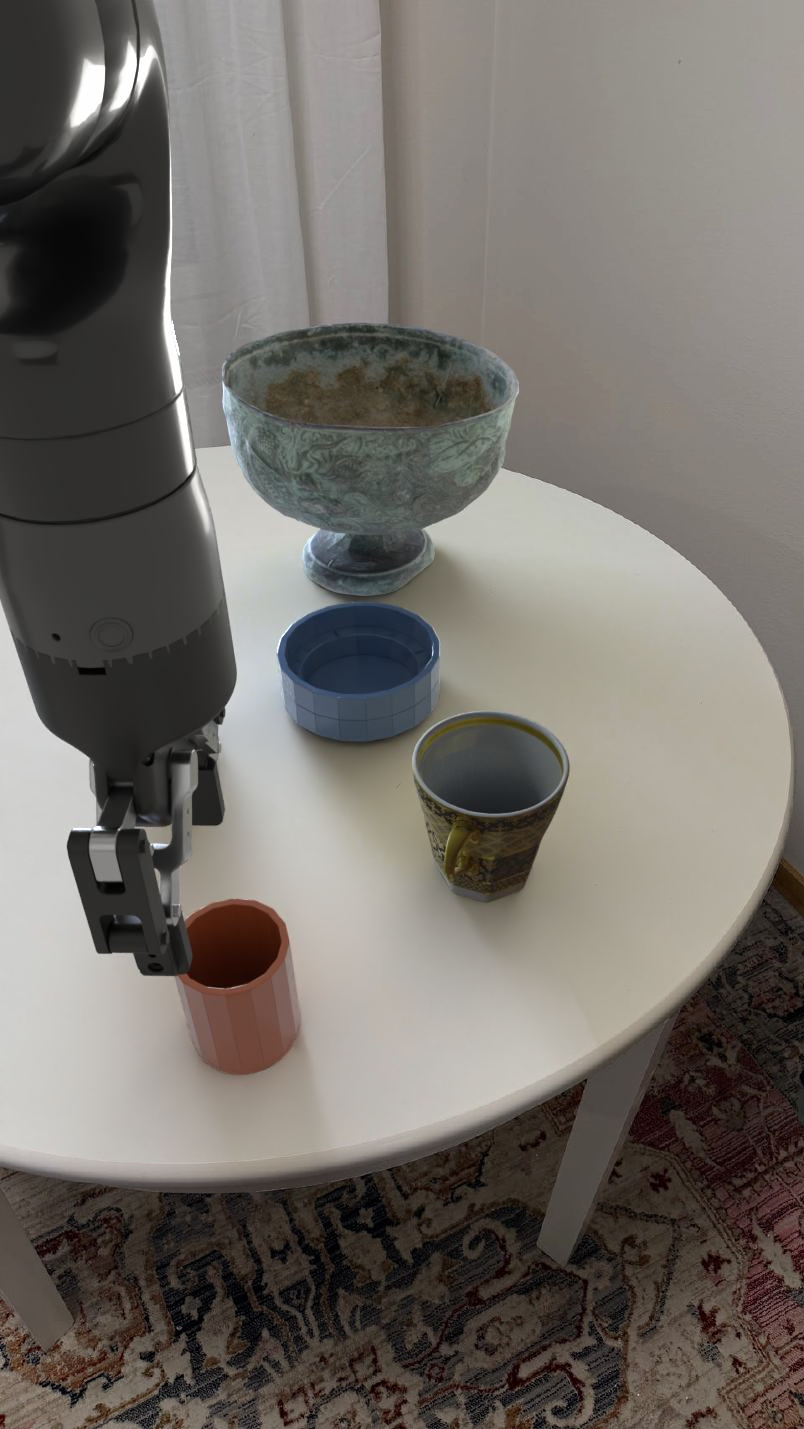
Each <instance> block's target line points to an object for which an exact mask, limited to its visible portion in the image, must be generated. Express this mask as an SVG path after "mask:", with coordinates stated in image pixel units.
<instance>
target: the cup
mask: <svg viewBox="0 0 804 1429" xmlns="http://www.w3.org/2000/svg"><path fill="white" fill-rule="evenodd" d="M184 922H185V926H186V930H187V934H188V938H189V942H190V946H191V950H192V954H193V956H192V961H191V965H190V970H189V972H188V973H186V974H182V975H177V976H173V977H174V981H175V984H176V987H177V992H178V996H179V998H180V1002H181V1006H182V1010H183V1013H184V1018H185V1021H186V1024H187V1028H188V1032H189V1035H190V1036H189V1037H190V1039H191V1042H192V1045H193V1047H194V1049H195V1051H196V1054H198V1056H199V1058H200V1059H201V1060H202V1061H203V1062H204V1063H205V1064H207V1065H208V1066H210V1067H211V1068H212V1069H214V1070H216V1071H219V1072H221V1073H225V1074H227V1075H249V1074H255V1073H258V1072H261V1071H264V1070H266V1069H268V1068H270V1067H272V1066H274V1065H276V1063H278V1062H279V1061H281V1060H282V1059H283V1058H284V1057H285V1056H286V1055H287V1054H288V1052H290V1050H291V1049H292V1047H293V1045H294V1044H295V1043H296V1040H297V1038H298V1035H299V1031H300V1026H301V1012H300V1005H299V998H298V991H297V982H296V976H295V969H294V962H293V954H292V946H291V941H290V940H291V939H290V937H289V931H288V927H287V924H286V921H285V920H284V919H283V918H282V917H281V916H280V915H279V914H278V913H277V910H275V909H274V908H273V907H270V906H268V905H266V904H264V903H262V902H260V901H258V900H255V899H246V898H237V897H236V898H235V897H234V898H233V897H232V898H227V899H223V900H219V901H218V900H217V901H214V902H210V903H208V904H207V905H205V906H203V907H201V908H199V909H198V910H195V911H194V912H192V913H191V914H190V915H188V917H187V918H186V919H184Z"/></svg>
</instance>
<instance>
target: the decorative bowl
mask: <svg viewBox="0 0 804 1429" xmlns="http://www.w3.org/2000/svg"><path fill="white" fill-rule="evenodd" d="M221 380H222V382H221V383H222V391H223V392H222V402H221V403H222V408H223V413H224V416H225V420H226V424H227V431H228V436H229V441H230V445H231V449H232V452H233V454H234V457H235V458H234V459H235V461H236V465H237V466H238V468H239V470H240V472H241V473H242V475H243V476H242V477H243V478H244V479H245V480H246V482H247V483H248V484H249V486H250V488H251V489H252V491H254V493H255V494H256V495H258V496H259V497H260V499H262V500H263V501H264V502H265V503H266V504H267V505H269V507H271V508H272V509H274V510H276V511H277V512H278V513H280V514H282V516H284V517H287V518H290V519H294V520H296V521H297V522H301V523H303V524H305V525H308V526H311V527H314V528H317V529H318V530H317V531H316V532H315V533H314V534H313V535H311V536H310V537H308V539H307V541H306V542H305V545H304V546H303V548H302V558H301V560H302V565H303V566H302V567H303V570H304V573H305V574H306V575H307V577H308V578H309V579H310V580H311V581H313V582H314V583H316V584H317V585H319V586H320V587H323V588H324V589H326V590H329V591H330V592H334V593H336V594H343V595H350V596H361V597H370V596H379V595H386V594H389V593H393V592H396V591H398V590H400V589H401V588H402V587H404V586H405V585H406V584H408V583H410V581H412V580H413V579H415V577H416V576H418V575H419V574H420V573H422V572H423V571H424V570H425V569H427V568H428V567H429V566H430V565H431V564H432V563H434V559H435V545H434V542H433V540H432V537H431V535H430V534H429V533H428V532H427V530H426V529H425V528H427V527H429V526H432V525H434V524H437V523H440V522H442V521H444V520H446V519H448V518H451V517H453V516H456V515H457V514H459V513H461V512H462V511H463V510H464V509H466V508H467V507H468V506H470V505H471V504H472V503H473V502H475V501H476V500H477V499H478V498H479V497H481V496H482V495H483V494H484V493H485V492H486V491H487V490H488V489H489V487H490V486H491V484H492V483H493V481H494V479H496V477H497V475H498V474H499V472H500V470H501V468H502V466H503V465H504V462H505V457H506V453H507V452H506V451H507V448H506V442H507V439H508V435H509V433H510V432H509V431H510V428H511V425H512V418H513V413H514V410H515V409H514V408H515V404H516V399H517V397H518V395H519V394H520V384H519V379H518V376H517V374H516V373H515V371H514V370H513V369H512V367H511V366H510V365H508V363H507V362H506V361H504V360H503V359H502V358H500V357H499V355H497V354H496V353H494V352H492V351H491V350H489V349H487V348H485V347H484V346H481V345H479V344H476V343H474V342H471V341H470V340H466V339H463V338H461V337H458V336H454V335H453V334H448V333H444V332H440V331H436V330H432V329H429V328H426V327H418V326H409V325H403V324H399V323H373V322H345V323H344V322H343V323H330V324H319V325H317V326H305V327H301V328H296V329H291V330H286V331H280V332H278V333H274V334H271V335H268V336H264V337H261V338H258V339H255V340H252V341H249V342H248V343H245V344H243V345H242V346H239V347H238V348H237V349H236V350H235V351H233V352H231V353H230V354H229V355H228V356H227V357H226V358H224V363H222V366H221Z"/></svg>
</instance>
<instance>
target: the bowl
mask: <svg viewBox="0 0 804 1429" xmlns="http://www.w3.org/2000/svg"><path fill="white" fill-rule="evenodd" d="M437 634H438V633H436V630H435V629H434V626H432V625H431V624H430V623H429V622H428V621H426V620H425V619H424V617H422V616H420V615H419V614H417V613H415V612H413V611H410V610H408V609H406V608H404V607H401V606H399V605H393V604H389V603H384V602H378V601H350V602H344V603H337V604H330V605H327V606H325V607H322V608H319V609H316V610H313V611H311V612H308V613H307V614H305V615H304V616H302V617H300V618H299V619H298V620H296V621H295V622H293V623H291V624H290V626H288V628H287V629H286V631H285V632H284V633H283V634H282V635H281V637H280V639H279V642H278V646H277V650H276V661H277V669H278V676H279V677H278V679H279V685H280V687H279V688H280V694H281V698H282V699H281V700H282V702H283V706H284V709H285V712H286V713H287V714H288V715H289V716H290V717H291V718H292V719H293V720H294V722H295V723H296V724H297V725H299V726H300V727H302V728H304V729H305V730H307V731H309V732H311V733H313V734H315V735H317V736H320V737H323V738H328V739H331V740H332V739H333V740H336V741H339V742H372V741H377V740H382V739H388V738H393V737H395V736H397V735H400V734H402V733H404V732H406V731H409V730H411V729H413V728H415V727H416V726H418V725H419V724H421V722H423V721H424V720H425V719H426V718H427V717H428V716H430V715H431V714H432V712H433V710H434V708H435V707H436V705H437V703H438V702H439V700H440V688H441V687H440V686H441V685H440V684H441V640H440V638H439V636H438V635H437Z"/></svg>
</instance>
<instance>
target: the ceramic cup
mask: <svg viewBox="0 0 804 1429" xmlns="http://www.w3.org/2000/svg"><path fill="white" fill-rule="evenodd" d="M411 767H412V776H413V782H414V786H415V791H416V795H417V799H418V803H419V806H420V809H421V811H422V814H423V818H424V823H425V828H426V831H427V835H428V839H429V844H430V849H431V852H432V853H431V854H432V856H433V859H434V864H435V866H436V868H437V870H438V871H439V872H440V875H441V876H442V877H443V879H444V881H445V882H446V883H447V885H448V887H449V889H450V890H451V892H452V893H453V894H456V895H459V896H462V897H466V898H469V899H472V900H476V901H479V902H483V903H490V902H493V901H496V900H499V899H501V898H504V897H507V896H509V895H513V894H515V893H518V892H520V891H522V890H523V889H524V888H525V886H526V883H527V881H528V878H529V876H530V874H531V871H532V868H533V866H534V863H535V860H536V858H537V855H538V851H539V850H540V845H541V843H542V840H543V838H544V836H545V834H546V833H547V831H548V829H549V827H550V826H551V823H552V822H553V819H554V818H555V815H556V813H557V811H558V808H559V805H560V803H561V801H562V799H563V796H564V793H565V790H566V786H567V783H568V780H569V776H570V768H571V767H570V759H569V756H568V753H567V751H566V749H565V747H564V745H563V743H562V742H561V741H560V739H559V738H558V737H557V736H556V735H555V734H554V733H553V732H551V730H549V729H547V728H546V727H545V726H544V725H542V724H540V723H538V722H536V721H535V720H533V719H530V718H528V717H525V716H522V715H519V714H516V713H511V712H507V711H498V710H475V711H469V712H463V713H459V714H455V715H452V716H450V717H447V718H445V719H443V720H441V721H439V722H437V723H436V724H434V725H432V726H431V727H430V728H428V729H427V730H426V731H425V732H424V733H423V735H422V736H421V737H420V738H419V739H418V741H417V742H416V745H415V747H414V750H413V753H412V757H411Z"/></svg>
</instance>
